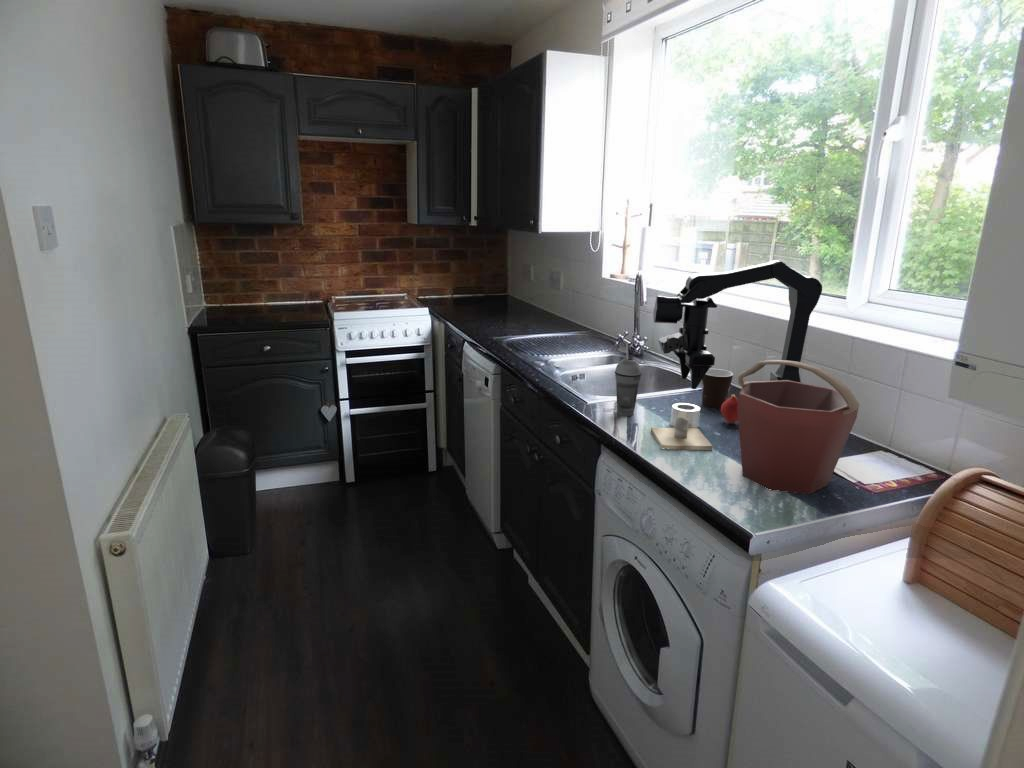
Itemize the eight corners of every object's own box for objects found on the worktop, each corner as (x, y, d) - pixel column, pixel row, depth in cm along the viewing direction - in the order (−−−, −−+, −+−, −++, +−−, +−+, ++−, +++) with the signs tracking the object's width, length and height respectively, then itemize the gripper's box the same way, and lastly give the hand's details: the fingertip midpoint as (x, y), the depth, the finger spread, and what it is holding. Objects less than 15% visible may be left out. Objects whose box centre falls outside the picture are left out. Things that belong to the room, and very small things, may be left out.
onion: (741, 421, 168) (745, 392, 166) (743, 428, 163) (746, 399, 160) (718, 418, 170) (722, 390, 167) (719, 425, 164) (723, 396, 162)
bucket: (705, 462, 141) (717, 355, 134) (778, 448, 149) (793, 347, 142) (791, 510, 119) (811, 385, 112) (870, 491, 128) (894, 374, 121)
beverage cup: (626, 419, 168) (632, 347, 162) (606, 412, 173) (611, 342, 167) (644, 414, 172) (649, 343, 167) (623, 407, 178) (628, 338, 172)
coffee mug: (723, 412, 175) (727, 378, 172) (693, 406, 180) (697, 373, 177) (736, 402, 183) (740, 370, 181) (708, 397, 188) (711, 365, 186)
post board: (697, 431, 159) (699, 409, 158) (712, 449, 148) (714, 426, 146) (650, 431, 159) (652, 409, 158) (661, 449, 148) (663, 425, 146)
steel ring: (693, 420, 167) (695, 403, 166) (701, 429, 161) (703, 411, 159) (667, 420, 167) (669, 402, 166) (674, 429, 161) (676, 411, 159)
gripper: (654, 317, 166) (649, 373, 170) (672, 331, 148) (666, 393, 152) (696, 317, 166) (690, 374, 170) (718, 332, 148) (711, 394, 152)
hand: (688, 383), depth 161 cm, fingers open, 9 cm apart
